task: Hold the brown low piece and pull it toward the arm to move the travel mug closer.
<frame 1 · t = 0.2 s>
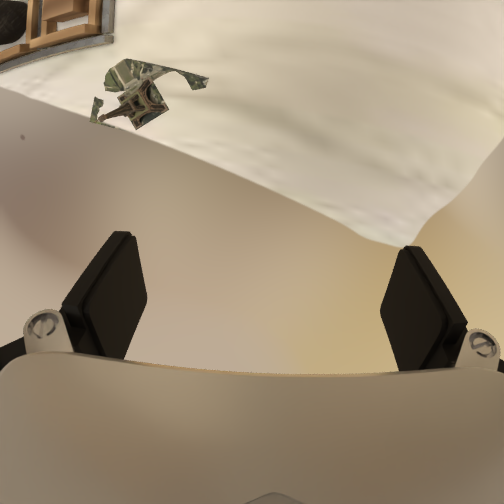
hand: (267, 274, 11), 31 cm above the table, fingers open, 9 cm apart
eiffel tower figurine: (146, 99, 37), on the table
travel mug: (15, 22, 27), resting in brown low piece
walnut block: (77, 2, 27), resting in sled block
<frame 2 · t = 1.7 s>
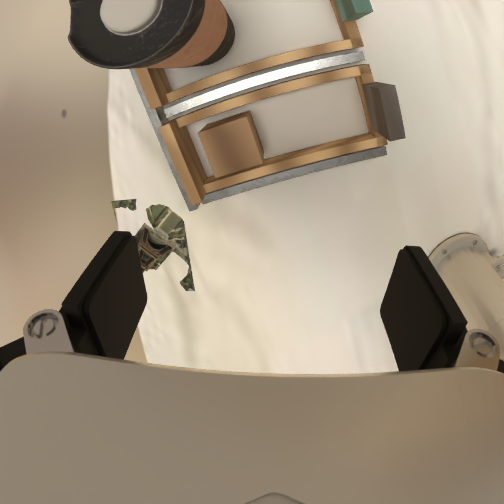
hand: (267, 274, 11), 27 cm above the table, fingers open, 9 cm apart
eiffel tower figurine: (155, 245, 43), on the table
lane frame: (258, 66, 30), on the table
brown low piece: (239, 15, 24), point 4 cm above the table, slide at 0.0 cm
travel mug: (202, 35, 28), resting in brown low piece
walnut block: (235, 137, 34), resting in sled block
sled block: (280, 131, 30), point 4 cm above the table, slide at 0.0 cm
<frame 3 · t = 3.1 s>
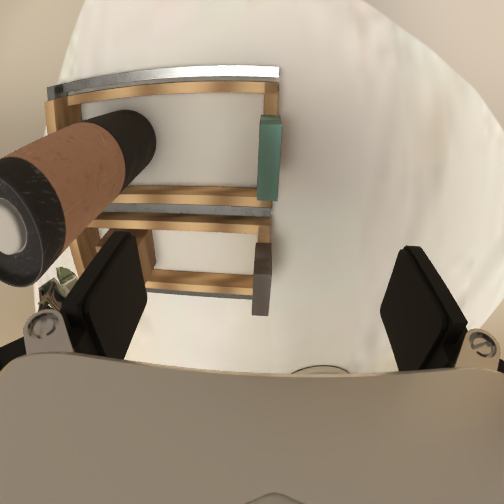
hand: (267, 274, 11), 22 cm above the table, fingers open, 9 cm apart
eiffel tower figurine: (61, 294, 44), on the table
lane frame: (168, 190, 33), on the table
brown low piece: (153, 149, 27), point 4 cm above the table, slide at 0.0 cm
travel mug: (126, 141, 31), resting in brown low piece
walnut block: (134, 243, 37), resting in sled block
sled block: (165, 265, 33), point 4 cm above the table, slide at 0.0 cm
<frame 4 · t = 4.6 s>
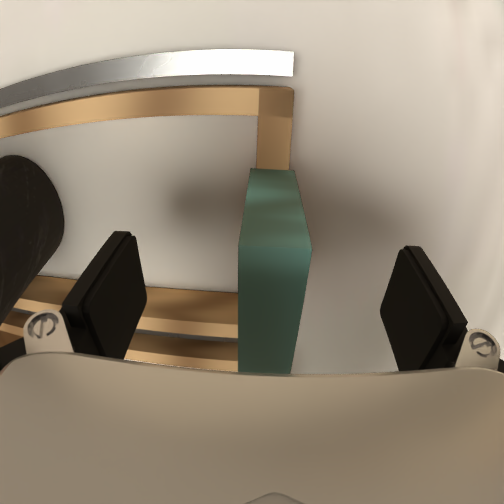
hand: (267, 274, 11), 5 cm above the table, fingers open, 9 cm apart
lane frame: (96, 288, 18), on the table
brown low piece: (38, 246, 12), point 4 cm above the table, slide at 0.0 cm
travel mug: (22, 207, 16), resting in brown low piece
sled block: (106, 400, 19), point 4 cm above the table, slide at 0.0 cm
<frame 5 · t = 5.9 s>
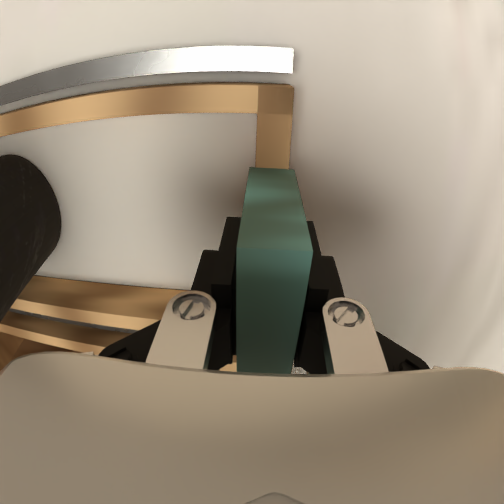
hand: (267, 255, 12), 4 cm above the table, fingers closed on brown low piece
lane frame: (94, 288, 18), on the table
brown low piece: (34, 247, 12), point 4 cm above the table, slide at 0.0 cm, touching gripper
travel mug: (19, 207, 16), resting in brown low piece
walnut block: (68, 348, 22), resting in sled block
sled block: (105, 401, 19), point 4 cm above the table, slide at 0.0 cm
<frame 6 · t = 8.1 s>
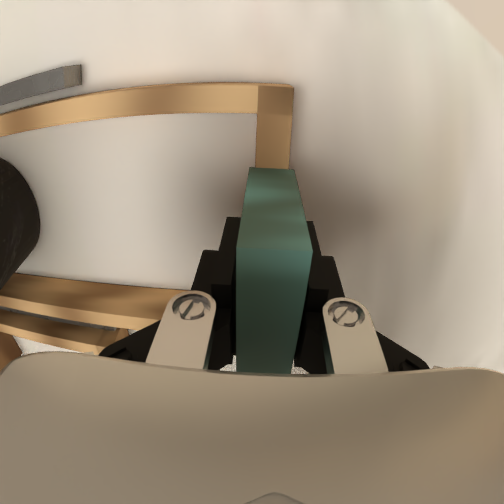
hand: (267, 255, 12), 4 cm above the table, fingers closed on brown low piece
brown low piece: (34, 247, 12), point 4 cm above the table, slide at 9.4 cm, touching gripper, travel mug
travel mug: (2, 208, 16), resting in brown low piece
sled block: (10, 373, 19), point 4 cm above the table, slide at 0.0 cm
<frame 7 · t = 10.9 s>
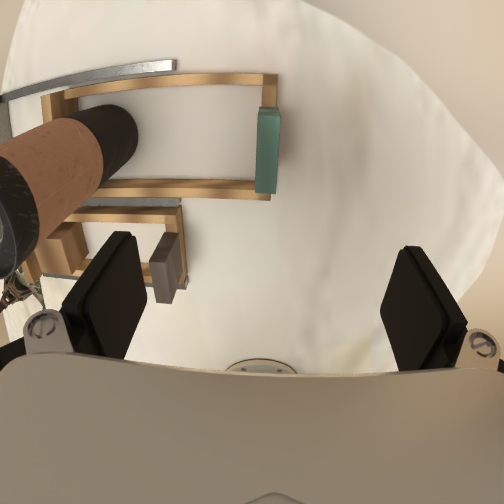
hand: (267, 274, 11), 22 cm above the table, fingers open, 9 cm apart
eiffel tower figurine: (22, 284, 43), on the table
lane frame: (90, 184, 33), on the table
brown low piece: (150, 142, 26), point 4 cm above the table, slide at 9.5 cm
travel mug: (109, 135, 30), resting in brown low piece
walnut block: (69, 235, 37), resting in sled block
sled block: (87, 255, 33), point 4 cm above the table, slide at 0.0 cm
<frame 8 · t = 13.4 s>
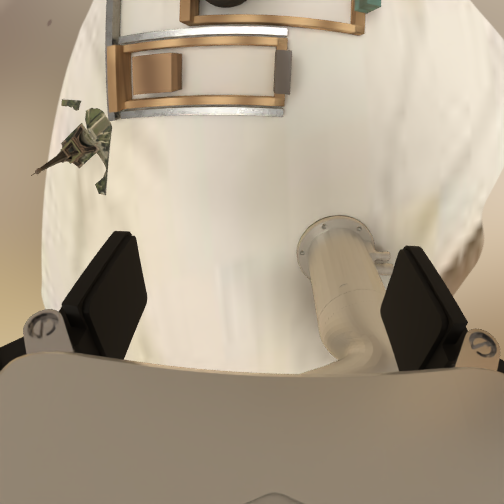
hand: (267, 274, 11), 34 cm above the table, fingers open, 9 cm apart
eiffel tower figurine: (84, 146, 43), on the table
lane frame: (200, 22, 33), on the table
walnut block: (163, 72, 37), resting in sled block
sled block: (194, 70, 33), point 4 cm above the table, slide at 0.0 cm
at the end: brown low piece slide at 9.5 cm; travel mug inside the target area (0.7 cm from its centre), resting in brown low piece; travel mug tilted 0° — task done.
